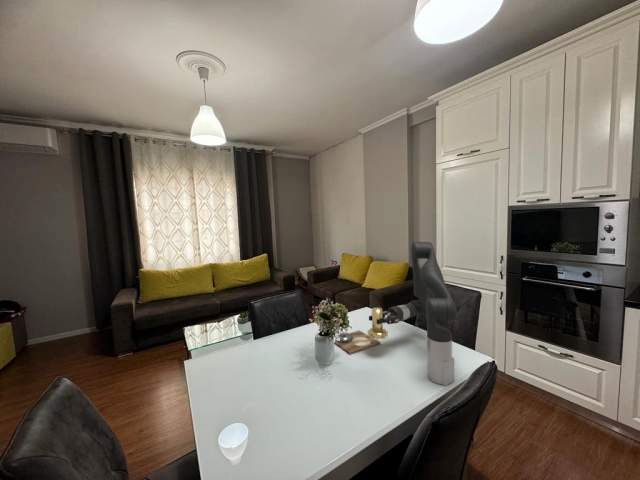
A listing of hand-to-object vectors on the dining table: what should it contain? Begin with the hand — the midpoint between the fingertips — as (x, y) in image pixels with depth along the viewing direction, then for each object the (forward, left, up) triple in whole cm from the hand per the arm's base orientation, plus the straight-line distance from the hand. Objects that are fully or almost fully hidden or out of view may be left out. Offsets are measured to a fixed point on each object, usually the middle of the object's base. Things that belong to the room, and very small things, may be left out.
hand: (373, 320), depth 124 cm
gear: (+20, +4, -17) cm, 26 cm away
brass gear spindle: (0, -3, -8) cm, 8 cm away
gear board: (+16, -1, -18) cm, 24 cm away
